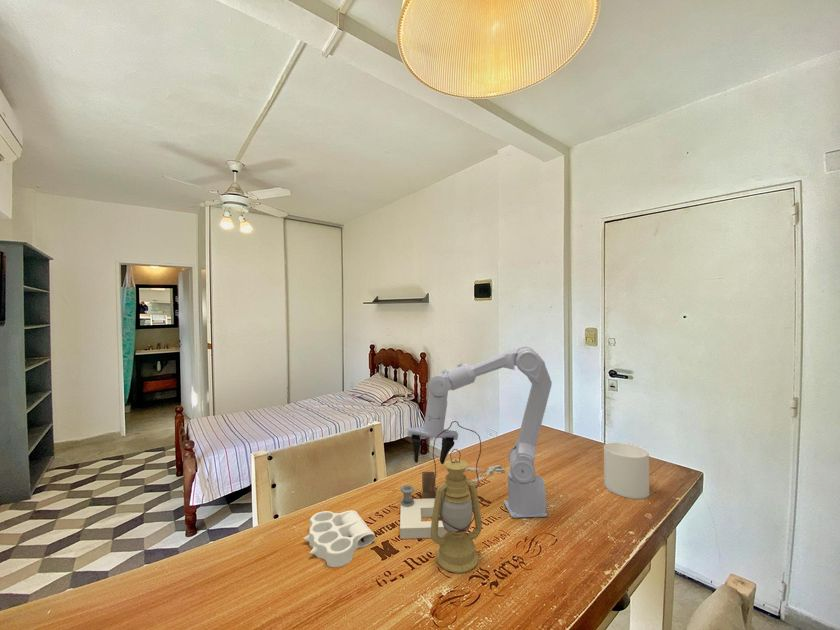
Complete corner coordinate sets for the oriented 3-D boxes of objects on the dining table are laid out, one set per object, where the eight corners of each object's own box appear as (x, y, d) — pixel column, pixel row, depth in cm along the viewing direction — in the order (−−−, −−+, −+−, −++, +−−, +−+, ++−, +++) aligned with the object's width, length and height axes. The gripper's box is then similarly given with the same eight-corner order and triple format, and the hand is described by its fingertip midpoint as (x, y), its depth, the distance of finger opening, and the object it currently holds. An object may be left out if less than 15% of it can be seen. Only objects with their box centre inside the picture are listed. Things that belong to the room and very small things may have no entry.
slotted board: (444, 507, 96) (443, 483, 96) (450, 537, 83) (449, 509, 83) (401, 508, 95) (400, 485, 95) (400, 538, 82) (399, 511, 82)
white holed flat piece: (381, 551, 78) (316, 578, 71) (352, 514, 94) (296, 532, 86) (381, 536, 78) (316, 562, 71) (351, 501, 94) (296, 519, 86)
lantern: (473, 538, 82) (472, 412, 82) (491, 567, 72) (489, 425, 73) (425, 546, 79) (423, 416, 79) (436, 578, 70) (434, 430, 70)
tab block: (434, 495, 102) (434, 471, 102) (435, 502, 98) (435, 478, 98) (422, 495, 102) (422, 472, 102) (423, 503, 98) (422, 478, 98)
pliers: (456, 466, 118) (495, 461, 122) (456, 471, 118) (495, 465, 122) (467, 479, 109) (510, 473, 113) (467, 484, 109) (510, 478, 113)
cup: (606, 494, 101) (606, 454, 101) (602, 477, 112) (601, 440, 112) (653, 502, 97) (653, 459, 97) (644, 483, 107) (643, 445, 107)
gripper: (455, 413, 104) (449, 456, 105) (408, 409, 102) (402, 454, 102) (462, 421, 97) (455, 468, 98) (412, 417, 95) (405, 465, 95)
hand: (428, 461), depth 99 cm, fingers open, 7 cm apart
